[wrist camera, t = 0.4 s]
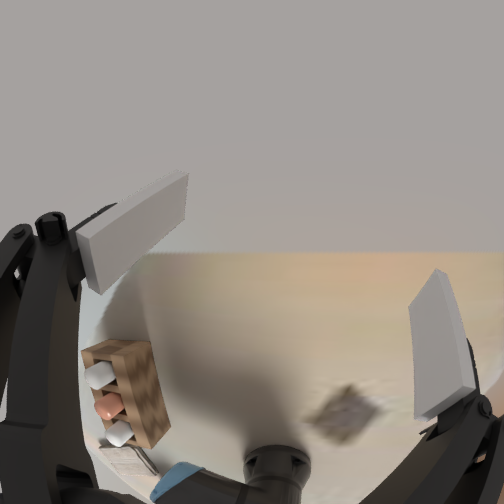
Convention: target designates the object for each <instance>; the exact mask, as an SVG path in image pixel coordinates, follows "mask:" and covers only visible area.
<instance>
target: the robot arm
mask: <svg viewBox="0 0 504 504" xmlns="http://www.w3.org/2000/svg"><path fill="white" fill-rule="evenodd" d="M187 184H188V173H185V172H182V171H179V170H175V171H173V172H171V173H169V174H167V175H165V176H164V177H162V178H160V179H158V180H156V181H155V182H153V183H151V184H149V185H148V186H146V187H144V188H142V189H141V190H139V191H137V192H136V193H134V194H132V195H130V196H129V197H127V198H126V199H124V200H122V201H121V202H119V203H114V204H111V205H108V206H105V207H104V208H102V209H100V210H99V211H98V212H97V213H94V214H93V215H91V217H88V218H87V219H85V220H84V221H82V222H81V223H79V224H78V225H76V226H75V227H73V228H72V229H71V230H69V231H68V229H67V224H66V218H65V215H64V214H63V213H61V212H49V213H46V214H44V215H42V216H41V217H39V218H38V219H37V220H36V222H35V226H36V230H37V234H38V236H35V235H34V234H33V230H32V227H31V226H30V225H29V224H19V225H17V226H15V227H14V228H12V229H11V230H10V231H9V232H8V233H7V235H6V236H5V237H4V239H3V240H2V241H1V243H0V406H1V402H2V397H3V393H4V389H5V385H6V382H7V378H8V384H7V386H8V387H7V413H6V418H5V420H4V421H2V422H0V482H1V488H2V493H0V504H146V503H144V502H143V501H141V500H139V499H137V498H135V497H134V496H132V495H130V494H120V493H117V492H113V491H109V490H103V489H99V486H98V483H97V478H96V474H95V470H94V466H93V462H92V460H91V457H90V455H89V453H88V451H87V449H86V446H85V443H84V436H83V429H82V421H81V411H80V400H79V383H78V331H79V313H80V300H81V291H82V286H81V281H82V280H83V279H84V278H85V277H86V279H87V283H88V286H89V288H91V289H92V290H94V291H95V292H97V293H98V294H100V295H102V294H103V293H104V292H105V291H106V290H107V289H108V288H109V287H110V286H111V285H112V284H113V283H115V282H116V281H117V280H118V279H119V278H120V277H121V276H122V275H123V274H124V273H125V272H126V271H127V270H128V269H129V268H130V267H131V266H132V265H134V264H135V263H136V262H137V261H138V260H139V259H140V258H141V257H142V256H143V255H144V254H146V253H147V252H148V251H149V250H150V249H151V248H152V247H153V246H154V245H156V244H157V243H158V242H159V241H160V240H161V239H162V238H163V237H164V236H166V235H167V234H168V233H169V232H170V231H172V230H173V229H174V228H175V227H176V226H177V225H178V224H180V223H181V222H182V221H183V220H184V215H185V204H186V193H187ZM16 269H18V271H19V274H20V275H19V277H18V278H17V279H16V277H15V275H14V272H15V270H16ZM409 315H410V323H411V333H412V345H413V361H414V420H419V421H426V422H428V421H429V420H431V419H433V418H434V417H436V416H437V415H438V422H437V423H435V424H433V425H432V426H430V427H428V428H426V429H425V430H423V431H421V432H420V433H419V434H420V435H421V434H423V433H425V432H427V433H426V434H425V435H424V437H422V439H421V440H420V442H419V443H418V444H417V445H416V447H415V448H414V449H413V450H412V451H411V452H410V454H409V455H408V456H407V457H406V458H405V459H404V460H403V461H402V463H401V464H400V465H399V466H398V467H397V468H396V469H395V470H394V471H393V472H392V473H391V474H390V475H389V476H388V477H387V478H386V479H385V480H384V481H383V482H382V483H381V484H380V485H379V486H378V487H377V488H376V489H375V490H373V491H372V492H371V493H370V494H369V495H368V496H367V497H366V498H364V499H363V500H362V501H361V502H360V503H359V504H497V501H498V498H499V496H500V493H501V490H502V487H503V483H504V414H503V415H502V416H501V417H499V418H497V417H496V416H494V415H493V414H492V407H491V403H490V402H489V400H488V398H487V397H485V396H484V395H482V394H481V395H480V388H479V381H478V375H477V369H476V368H475V366H476V364H475V360H474V354H473V350H472V347H471V345H470V343H469V341H468V339H467V338H466V334H465V330H464V327H463V323H462V319H461V316H460V312H459V309H458V305H457V302H456V299H455V296H454V293H453V290H452V287H451V284H450V281H449V278H448V276H447V274H446V273H444V272H442V271H440V270H438V269H435V271H434V272H433V274H432V275H431V277H430V278H429V279H428V281H427V282H426V284H425V285H424V287H423V288H422V289H421V291H420V292H419V293H418V295H417V296H416V297H415V299H414V300H413V301H412V303H411V304H410V305H409ZM484 454H486V456H485V459H484V460H483V461H481V462H478V463H477V459H478V457H480V456H482V455H484ZM243 471H244V477H245V483H246V484H244V483H241V482H238V481H235V480H232V479H229V478H226V477H224V476H221V475H218V474H216V473H213V472H211V471H208V470H206V469H205V468H204V467H198V466H196V465H193V464H191V463H188V462H179V463H177V464H176V465H174V466H173V467H172V468H171V469H170V470H169V471H168V472H167V473H166V474H165V475H164V476H163V477H162V478H161V480H160V481H159V482H158V483H157V485H156V486H155V489H154V490H153V491H152V492H151V494H150V500H151V501H152V502H153V503H155V504H301V493H302V489H303V488H304V486H305V484H306V482H307V481H308V479H309V477H310V474H311V463H310V460H309V458H308V457H307V456H306V455H305V454H304V453H302V452H301V451H299V450H297V449H294V448H291V447H287V446H279V445H274V446H265V447H262V448H259V449H256V450H254V451H253V452H251V453H250V454H249V455H248V456H247V458H246V461H245V464H244V468H243Z"/></svg>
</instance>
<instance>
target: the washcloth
mask: <svg viewBox="0 0 504 504" xmlns="http://www.w3.org/2000/svg"><path fill="white" fill-rule="evenodd" d="M99 449H100V451H101V452H102V453H103V455H104V456H105V457H106V458H107V459H108V460H109V461H110V462H111V464H112V465H113V467H114V468H115V469H116V470H117V471H118V472H119V474H121V475H133V476H156V475H157V474H156V473H159V472H158V471H156V468H155V466H154V465H153V463H152V462H151V461H150V460H149V459H148V457H147V456H146V455H145V453H144V452H143V451H142V449H141V448H140V447H139V446H136V445H132V444H123V445H122V446H121V447H117V446H115V445H102V446H100V447H99Z"/></svg>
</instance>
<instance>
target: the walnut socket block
mask: <svg viewBox="0 0 504 504" xmlns="http://www.w3.org/2000/svg"><path fill="white" fill-rule="evenodd" d="M81 354H82V358H83V362H84V366H85V370H86V369H87V368H89V367H91V366H93V365H95V364H97V363H99V362H101V361H104V360H107V361H112V365H113V369H114V372H115V376H116V379H115V380H113V381H112V382H110V383H108V384H107V385H105V386H103V387H102V388H100V389H98V390H96V389H93V388H92V387H91V386H90V387H91V390H92V393H93V396H94V399H95V402H96V401H98V400H99V399H101V398H102V397H104V396H105V395H107V394H108V393H110V392H115V393H120V394H121V397H122V401H123V404H124V407H125V408H124V409H123V410H122V411H121V412H119V413H118V414H117V415H115V416H114V417H113V418H112V419H110V420H105V419H103V418H102V417H101V419H102V422H103V424H104V427H105V429H106V430H107V429H108V428H110V427H111V426H112V425H113V424H115V423H116V422H117V421H118V420H122V421H127V422H130V425H131V427H132V430H133V433H134V435H133V436H132V437H130V438H129V439H128V440H127V441H126V442H125V443H128V444H132V445H136V446H140V447H144V448H148V449H152V448H153V447H154V446H155V445H156V444H157V443H158V441H159V440H160V439H161V438H162V437H163V436H164V434H165V433H166V432H167V431H168V430H169V429H170V427H171V425H170V422H169V419H168V415H167V412H166V408H165V404H164V401H163V397H162V393H161V389H160V385H159V381H158V376H157V372H156V368H155V363H154V358H153V354H152V349H151V343H150V342H146V341H125V340H110V339H109V340H106V341H104V342H101V343H99V344H96V345H94V346H91V347H89V348H86V349H84V350H81Z"/></svg>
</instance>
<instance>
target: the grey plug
mask: <svg viewBox="0 0 504 504" xmlns="http://www.w3.org/2000/svg"><path fill="white" fill-rule="evenodd" d="M84 375H85V379H86V381H87V383H88V384H89V385H90V386H91V387H92V388H93V389H96V390H98V389H100V388H102V387H103V386H105V385H107V384H108V383H110V382H112V381H113V380H115V379H116V376H115V372H114V369H113V365H112V361H107V360H104V361H101V362H99V363H97V364H95V365H93V366H91V367H89V368H87V369H86V370H85V372H84Z"/></svg>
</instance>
